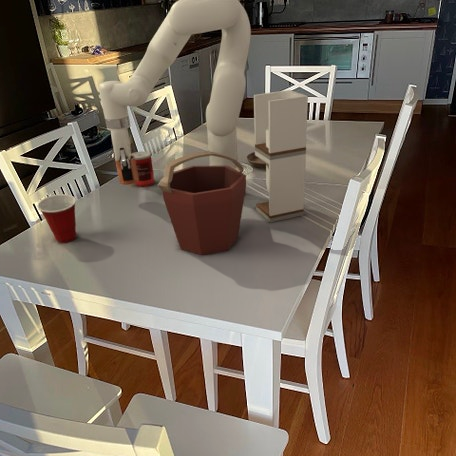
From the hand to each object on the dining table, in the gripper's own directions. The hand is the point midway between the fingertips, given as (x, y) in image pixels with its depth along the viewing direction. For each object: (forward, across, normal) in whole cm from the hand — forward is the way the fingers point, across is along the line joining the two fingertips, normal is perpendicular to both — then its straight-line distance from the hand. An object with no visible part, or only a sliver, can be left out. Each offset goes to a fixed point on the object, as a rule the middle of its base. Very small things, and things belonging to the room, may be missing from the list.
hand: (128, 176), depth 162 cm
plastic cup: (+8, +26, -20) cm, 34 cm away
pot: (+2, 0, 0) cm, 2 cm away
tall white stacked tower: (+10, +25, +46) cm, 53 cm away
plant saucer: (+10, -23, +54) cm, 60 cm away
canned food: (+9, -15, +4) cm, 18 cm away
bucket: (+9, +38, +21) cm, 44 cm away
